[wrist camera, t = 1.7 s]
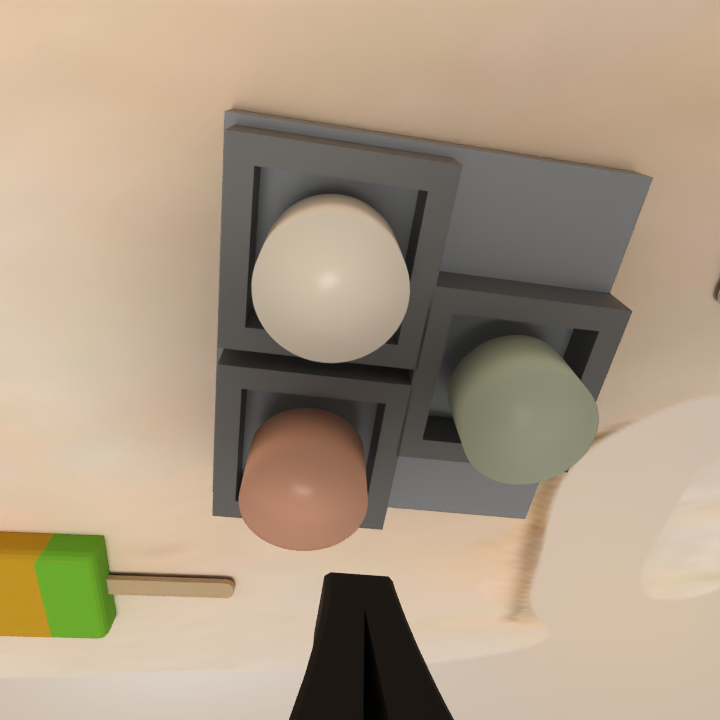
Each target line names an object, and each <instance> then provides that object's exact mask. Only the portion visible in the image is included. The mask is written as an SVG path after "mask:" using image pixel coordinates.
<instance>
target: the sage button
mask: <svg viewBox="0 0 720 720" xmlns="http://www.w3.org/2000/svg"><path fill="white" fill-rule="evenodd" d="M448 404H449V407H450V410H451V413H452V416H453V419H454V422H455V425H456V428H457V431H458V434H459V437H460V440H461V443H462V446H463V449H464V452H465V454H466V456H467V458H468V460H469V461H470V463H471V464H472V466H473V467H474V468H475V469H476V470H477V471H479V472H480V473H481V474H483V475H484V476H486V477H488V478H490V479H492V480H495V481H498V482H501V483H506V484H516V485H522V484H532V483H537V482H541V481H545V480H548V479H550V478H553V477H555V476H557V475H559V474H561V473H563V472H564V471H566V470H568V469H569V468H570V467H572V466H573V465H574V464H576V463H577V462H578V461H579V460H580V459H581V458H582V457H583V455H584V454H585V453H586V452H587V450H588V449H589V447H590V446H591V444H592V442H593V440H594V438H595V435H596V432H597V428H598V420H599V415H598V408H597V405H596V402H595V400H594V398H593V396H592V395H591V393H590V392H589V391H588V389H587V388H586V387H585V386H584V384H583V383H582V382H581V381H580V379H579V378H578V377H577V376H576V374H575V373H574V372H573V371H572V369H571V368H570V367H569V366H568V364H567V363H566V362H565V361H564V359H563V358H562V357H561V355H560V354H559V353H558V352H557V351H556V350H555V349H554V348H553V347H552V346H551V345H549V344H548V343H546V342H544V341H542V340H540V339H537V338H534V337H531V336H525V335H507V336H502V337H498V338H494V339H491V340H489V341H487V342H484V343H482V344H481V345H479V346H477V347H476V348H474V349H473V350H471V351H470V352H469V353H468V354H467V355H466V356H465V357H464V358H463V359H462V360H461V361H460V362H459V364H458V365H457V367H456V368H455V370H454V372H453V374H452V376H451V379H450V382H449V386H448Z"/></svg>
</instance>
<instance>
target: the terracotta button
mask: <svg viewBox="0 0 720 720" xmlns="http://www.w3.org/2000/svg"><path fill="white" fill-rule="evenodd" d="M367 508H368V494H367V481H366V467H365V454H364V447H363V443H362V440H361V438H360V436H359V434H358V433H357V431H356V430H355V429H354V427H353V426H352V425H351V424H349V423H348V422H347V421H346V420H344V419H343V418H342V417H340V416H338V415H336V414H334V413H331V412H329V411H325V410H322V409H316V408H296V409H291V410H287V411H284V412H281V413H279V414H276V415H275V416H273V417H271V418H269V419H268V420H267V421H266V422H264V423H263V424H262V425H261V426H260V427H259V429H258V430H257V431H256V433H255V435H254V437H253V438H252V441H251V444H250V449H249V453H248V457H247V462H246V466H245V470H244V475H243V479H242V483H241V488H240V492H239V509H240V513H241V515H242V518H243V520H244V521H245V523H246V524H247V526H248V527H249V528H250V529H251V530H252V531H253V532H254V533H255V534H256V535H257V536H258V537H260V538H261V539H263V540H265V541H266V542H268V543H270V544H273V545H275V546H278V547H281V548H285V549H289V550H297V551H311V550H318V549H323V548H327V547H330V546H333V545H336V544H338V543H340V542H342V541H343V540H345V539H346V538H348V537H349V536H351V535H352V534H353V533H354V532H355V531H356V530H357V529H358V528H359V526H360V525H361V523H362V522H363V520H364V518H365V516H366V512H367Z"/></svg>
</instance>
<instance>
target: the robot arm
mask: <svg viewBox="0 0 720 720" xmlns="http://www.w3.org/2000/svg"><path fill="white" fill-rule="evenodd" d="M717 297H718V302H719V303H720V290H719V293H718V296H717ZM289 720H454V719H453V717H452V715H451V713H450V712H449V710H448V708H447V706H446V704H445V702H444V700H443V698H442V696H441V694H440V692H439V690H438V688H437V687H436V684H435V682H434V680H433V678H432V676H431V674H430V672H429V670H428V667H427V665H426V663H425V661H424V659H423V657H422V655H421V653H420V650H419V648H418V646H417V644H416V641H415V639H414V637H413V634H412V632H411V630H410V627H409V625H408V622H407V620H406V617H405V615H404V612H403V610H402V607H401V604H400V602H399V599H398V596H397V593H396V590H395V588H394V584H393V581H392V580H391V579H390V578H389V577H386V576H373V575H359V574H345V573H332V572H331V573H329V574H327V575H325V576H324V582H323V587H322V593H321V599H320V604H319V610H318V615H317V621H316V627H315V632H314V644H313V649H312V652H311V656H310V659H309V663H308V666H307V669H306V673H305V676H304V679H303V682H302V684H301V687H300V690H299V693H298V696H297V699H296V701H295V705H294V707H293V710H292V713H291V716H290V718H289Z"/></svg>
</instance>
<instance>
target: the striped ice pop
mask: <svg viewBox="0 0 720 720" xmlns="http://www.w3.org/2000/svg"><path fill="white" fill-rule="evenodd" d="M40 592H41V593H40ZM233 592H234V583H233V581H231V580H228V579H208V578H179V577H149V576H120V575H110V571H109V565H108V559H107V553H106V546H105V540H104V536H97V535H72V534H47V533H22V532H0V636H23V637H62V638H103V637H104V636H106V635H107V634H108V632H109V630H110V628H111V626H112V624H113V621H114V619H115V616H116V609H115V603H114V597H113V594H115V595H147V596H179V597H210V598H229V597H231V596H232V595H233ZM41 596H42V597H41Z"/></svg>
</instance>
